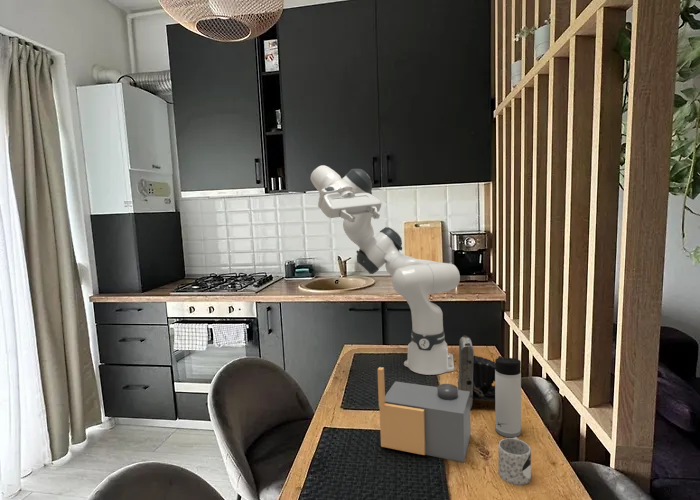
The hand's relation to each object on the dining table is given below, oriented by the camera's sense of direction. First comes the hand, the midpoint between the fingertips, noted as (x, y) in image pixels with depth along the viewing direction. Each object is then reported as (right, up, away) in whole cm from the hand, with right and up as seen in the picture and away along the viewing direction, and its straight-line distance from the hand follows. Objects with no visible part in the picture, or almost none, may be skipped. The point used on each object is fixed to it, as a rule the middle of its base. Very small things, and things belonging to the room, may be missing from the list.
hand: (365, 218), depth 124 cm
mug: (+33, -59, -32) cm, 75 cm away
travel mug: (+37, -58, -17) cm, 71 cm away
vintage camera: (+36, -56, -1) cm, 67 cm away
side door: (+8, -59, -24) cm, 64 cm away
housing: (+15, -59, -19) cm, 64 cm away
